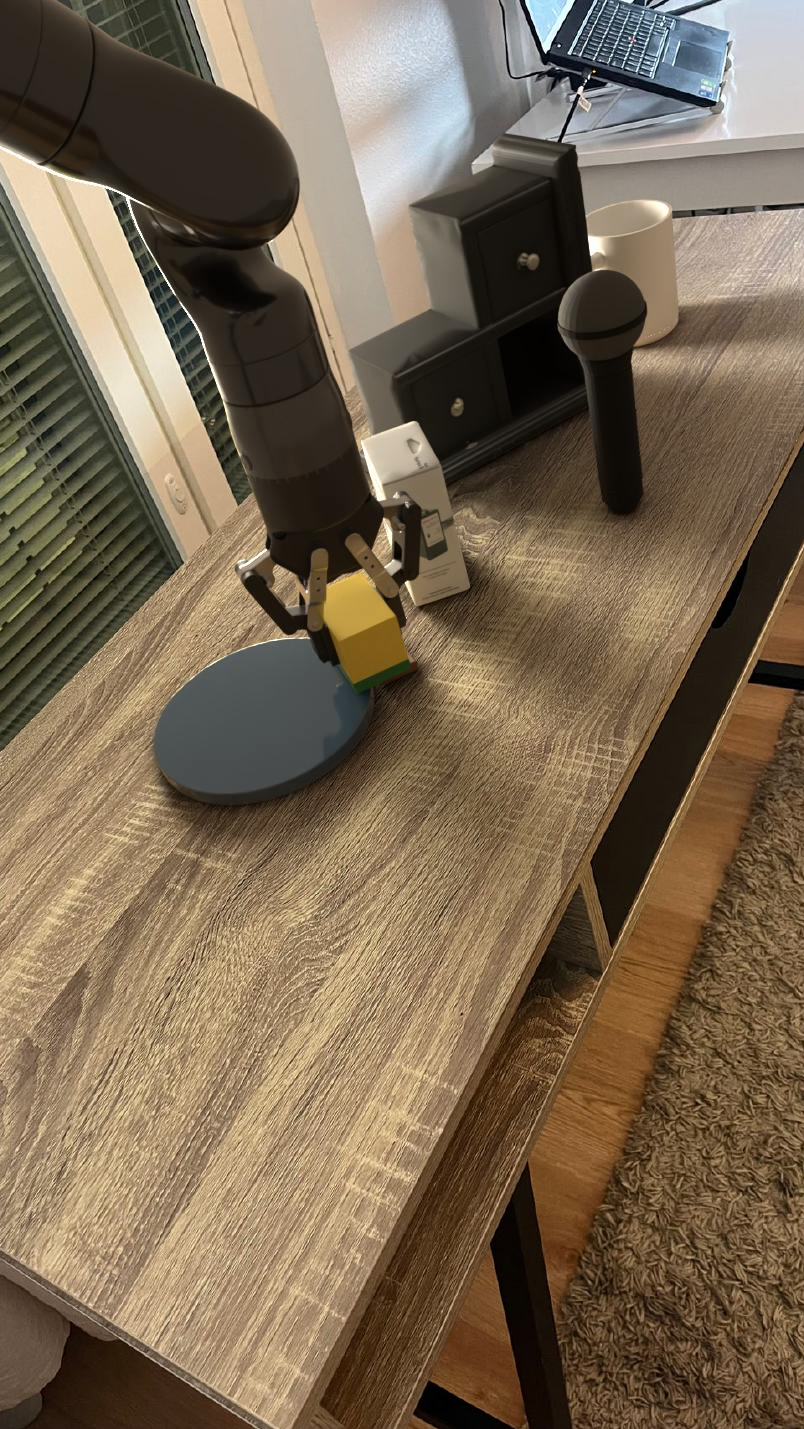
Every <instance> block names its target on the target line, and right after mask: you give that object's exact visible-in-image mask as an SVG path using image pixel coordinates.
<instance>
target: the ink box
mask: <svg viewBox="0 0 804 1429" xmlns="http://www.w3.org/2000/svg"><path fill="white" fill-rule="evenodd" d="M360 443H361V447H362V449H363V451H364V454H365V458H366V462H367V465H368V469H369V472H370V473H369V472H368V473H369V475H370V478H371V479H370V480H371V483H372V486H373V489H374V493H375V498H376V500H377V501H381V500H388V499H393V497H394V495H395V494H396V493H397V492H399V491H405V492H406V493H407V494H408V495H409V496H410V497H411V498H412V499H413V500H414V501H415V502H416V503H417V504H418V505H419V506H420V507H421V509H422V520H421V543H420V566H419V575H418V577H417V578H416V579H415V580H413V581H406V582H405V583H404V584H405V586H406V589H407V591H408V593H409V595H410V597H411V599H412V601H413V603H414V605H415V606H416V607H420V606H421V607H422V606H424V605H426V604H429V603H433V602H436V601H438V600H441V599H444V598H447V597H450V596H453V595H456V594H458V593H463V592H465V591H467V590H469V589H470V588H471V585H470V584H471V583H470V580H469V575H468V572H467V567H466V563H465V559H464V556H463V551H462V547H461V543H460V539H459V535H458V531H457V526H456V522H455V518H454V514H453V510H452V505H451V501H450V498H449V493H448V489H447V485H446V484H445V480H444V476H443V472H442V468H441V465H440V463H439V460H438V459H437V457H436V455H435V454H434V452H433V450H432V448H431V446H430V444H429V442H428V441H427V439H426V437H425V435H424V433H423V431H422V430H421V428H420V426H419V423H417V422H416V421H413V422H409V423H407V424H404V425H401V426H398V427H396V428H393V429H390V430H387V431H384V432H381V433H378V434H375V435H372V436H371V435H370V436H367V437H364V438H361V440H360ZM382 523H383V525H384V528H385V532H386V536H387V539H388V542H389V547H390V550H391V551H392V528H391V527H390V525H389V524H388V523H387V521H386V518H383V521H382Z"/></svg>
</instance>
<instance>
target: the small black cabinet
mask: <svg viewBox="0 0 804 1429" xmlns="http://www.w3.org/2000/svg"><path fill="white" fill-rule="evenodd" d="M491 150H492V152H491V156H492V159H493V164H492V165H490V166H488V167H486V168H484V169H482V170H479V171H477V172H475V173H473V174H472V175H469V176H467V177H464V178H463V179H460V180H458V181H456V182H454V183H452V184H449V185H447V186H446V187H444V188H441V189H439V190H436V191H435V192H433V193H430V194H428V195H426V196H424V197H421V198H420V199H418V200H416V201H415V200H414V201H413V202H411V203H409V204H408V205H407V211H408V216H409V219H410V220H409V221H410V225H411V226H410V227H411V229H412V230H411V231H412V235H413V239H414V243H415V248H416V251H417V252H416V253H417V255H418V260H419V265H420V269H421V272H422V278H423V282H424V286H425V290H426V295H427V296H426V297H427V300H428V304H429V308H428V309H427V310H425V311H422V312H421V313H419V314H418V315H415V316H413V317H411V318H409V319H407V320H405V321H403V322H401V323H399V324H397V325H395V326H394V327H391V328H389V329H387V330H385V331H384V332H381V333H379V334H377V335H375V336H373V337H371V338H370V339H367V340H365V341H364V342H361V343H360V344H357V345H355V346H354V347H352V348H350V349H348V350H347V351H346V353H347V358H348V362H349V365H350V367H351V372H352V375H353V378H354V383H355V386H356V389H357V392H358V396H359V399H360V401H361V405H362V406H361V407H362V409H363V412H364V416H365V419H366V422H367V423H366V424H367V425H368V429H369V432H370V436H372V435H375V434H378V433H381V432H384V431H387V430H390V429H393V428H396V427H398V426H401V425H404V424H407V423H409V422H413V421H416V422H417V423H419V426H420V428H421V430H422V431H423V433H424V435H425V437H426V439H427V441H428V442H429V444H430V446H431V448H432V450H433V452H434V454H435V455H436V457H437V459H438V460H439V463H440V465H441V468H442V472H443V476H444V480H445V484H446V486H448V485H449V484H451V483H452V482H454V481H456V480H458V479H461V478H462V477H463V476H466V475H468V474H469V473H472V472H473V471H475V470H476V469H478V468H480V467H482V466H484V465H486V464H487V463H489V462H491V461H493V460H494V459H497V458H498V457H499V456H502V455H504V454H505V453H508V452H509V451H511V450H513V449H515V448H516V447H518V446H520V445H522V444H523V443H525V442H527V441H529V440H530V439H533V438H534V437H536V436H538V435H539V434H541V433H544V432H545V431H547V430H549V429H551V428H552V427H555V426H556V425H557V424H559V423H561V422H563V421H565V420H567V419H569V418H570V417H572V416H574V415H576V414H578V413H579V412H581V411H584V410H585V409H587V408H589V405H588V397H587V390H586V382H585V374H584V369H583V366H582V364H581V362H580V360H579V357H578V355H577V354H575V353H574V352H573V351H571V350H570V348H569V347H568V346H567V345H566V343H565V342H564V340H563V338H562V336H561V334H560V332H559V330H558V324H557V319H558V314H559V308H560V305H561V302H562V299H563V297H564V295H565V293H566V292H567V290H568V289H569V287H570V286H571V285H572V284H573V283H574V282H575V281H576V280H577V279H579V278H580V277H582V276H583V275H585V274H587V273H589V272H592V271H593V270H592V262H591V254H590V247H589V239H588V230H587V222H586V215H587V214H586V208H585V201H584V192H583V183H582V176H581V171H580V169H579V165H578V162H579V156H578V151H577V145H576V144H573V143H569V142H568V143H566V142H560V141H555V140H549V139H544V138H536V137H531V136H527V135H520V134H513V133H507V132H504V133H501V134H499V135H498V136H497V139H496V140H494V142H493V144H492V147H491ZM359 453H360V456H361V460H362V463H363V466H364V470H365V472H367V473H369V474H370V472H369V469H368V465H367V462H366V458H365V454H364V451H363V448H361V449H360V450H359Z"/></svg>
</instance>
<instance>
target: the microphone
mask: <svg viewBox="0 0 804 1429" xmlns="http://www.w3.org/2000/svg"><path fill="white" fill-rule="evenodd" d="M647 313H648V312H647V304H646V301H645V300H644V297H643V295H642V293H641V290H640V289H639V288H638V286H637V285H636V284H635V282H634V281H633V280H631V279H630V278H629V277H628V276H626V275H624V274H622V273H620V272H617V271H613V270H596V271H592V272H589V273H587V274H585V275H583V276H582V277H580V278H579V279H577V280H576V281H575V282H574V283H573V284H572V285H571V286H570V287H569V289H568V290H567V292H566V293H565V295H564V297H563V299H562V302H561V305H560V308H559V314H558V319H557V324H558V330H559V332H560V334H561V336H562V338H563V340H564V342H565V343H566V345H567V346H568V347H569V348H570V350H571V351H573V352H574V353H575V354H577V355H578V357H579V360H580V362H581V364H582V366H583V369H584V374H585V382H586V390H587V397H588V405H589V407H588V411H589V412H588V413H589V420H590V427H591V435H592V442H593V449H594V457H595V464H596V472H597V481H598V485H599V490H600V498H601V502H602V503H603V504H604V505H605V507H607V509H608V510H609V511H610V512H611V513H612V514H613V515H616V516H627V515H630V514H632V513H634V512H635V511H636V510H637V509H638V507H639V505H640V503H641V501H642V499H643V497H644V496H645V491H644V480H643V479H644V474H643V463H642V454H641V445H640V444H641V443H640V434H639V423H638V414H637V404H636V393H635V383H634V373H633V364H632V363H633V362H632V360H633V352H634V348H635V347H634V345H635V343H636V342H637V340H638V339H639V337H640V336H641V333H642V331H643V328H644V324H645V320H646V317H647Z"/></svg>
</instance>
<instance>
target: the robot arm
mask: <svg viewBox="0 0 804 1429" xmlns="http://www.w3.org/2000/svg"><path fill="white" fill-rule="evenodd" d="M0 149H2V150H3V151H5V152H7V153H10V154H11V155H14V156H16V157H18V158H19V159H22V160H23V161H25V162H27V163H29V164H32V165H33V166H36V167H37V168H39V169H42V170H44V171H47V172H49V173H51V174H53V175H57V176H58V177H62V178H65V179H68V180H71V181H75V182H80V183H84V184H89V185H94V186H99V187H102V188H106V189H109V190H112V191H114V192H117V193H119V194H121V195H123V196H125V197H126V201H127V204H128V207H129V210H130V213H131V216H132V219H133V220H134V223H135V226H136V228H137V230H138V232H139V234H140V236H141V238H142V240H143V242H144V244H145V246H146V248H147V249H148V251H149V253H150V255H151V256H152V258H153V260H154V261H155V263H156V265H157V267H158V268H159V270H160V272H161V273H162V275H163V277H164V279H165V281H166V282H167V284H168V286H169V287H170V289H171V290H172V293H173V294H174V296H175V297H176V299H177V301H179V303H180V305H181V306H182V308H183V309H184V311H185V312H186V313H187V315H188V317H189V318H190V319H191V321H192V323H193V324H194V327H195V328H196V330H197V331H198V334H199V336H200V339H201V342H202V346H203V348H204V352H205V356H206V357H207V361H208V364H209V366H210V369H211V372H212V375H213V377H214V380H215V383H216V386H217V388H218V391H219V393H220V396H221V399H222V402H223V406H224V409H225V413H226V419H227V423H228V427H229V431H230V434H231V438H232V440H233V442H234V445H235V449H236V450H237V454H238V456H239V459H240V461H241V465H242V467H243V470H244V473H245V475H246V478H247V480H248V484H249V486H250V488H251V492H252V495H253V497H254V500H255V503H256V504H257V508H258V510H259V513H260V515H261V516H260V517H261V518H262V521H263V524H264V526H265V530H266V538H265V542H264V543H265V544H264V545H265V546H264V548H265V549H264V550H263V551H262V552H260V553H259V554H258V555H256V556H255V557H254V558H252V559H251V560H247V559H240V560H238V561H236V563H235V565H234V573H236V575H237V577H238V579H239V581H240V582H241V583H242V586H243V587H244V589H245V590H246V591H247V592H248V594H250V596H251V597H252V598H253V599H254V600H255V602H256V603H257V604H258V605H259V606H260V607H261V608H262V610H263V611H264V612H265V613H266V614H267V616H268V617H269V618H270V619H271V620H272V621H273V622H274V624H275V625H276V626H277V627H278V628H279V630H280V631H281V632H282V633H283V634H284V635H286V636H293V635H294V634H296V633H297V632H298V631H306V633H307V634H306V635H307V636H308V638H309V639H310V642H311V644H312V647H313V650H314V651H315V653H316V655H317V656H318V658H319V659H320V660H321V661H322V662H323V663H326V662H328V661H329V662H330V664H331V666H332V667H334V666H337V665H339V664H340V660H339V657H338V654H337V652H336V649H335V646H334V643H333V640H332V637H331V635H330V632H329V629H328V627H327V625H326V624H325V622H324V603H326V596H327V587H328V585H329V584H331V583H333V582H334V581H336V580H337V579H338V578H340V577H342V576H343V575H348V574H354V573H356V572H359V571H360V570H363V571H365V573H366V575H367V576H368V577H369V578H370V579H371V581H372V582H373V584H374V586H373V588H374V589H375V590H376V591H377V593H378V594H379V595H380V596H381V598H382V599H383V600H384V602H385V603H386V604H387V605H388V607H389V608H390V609H391V610H392V612H393V613H394V614H395V615H396V618H397V621H398V624H399V628H400V631H401V634H402V635H403V631H402V628H405V627H407V621H408V620H407V616H406V613H405V609H404V606H403V602H402V599H401V594H400V590H401V587H402V586H403V585H404V584H405V582H406V581H413V580H415V579H416V578H417V577H418V575H419V566H420V543H421V520H422V509H421V507H420V506H419V505H418V504H417V503H416V502H415V501H414V500H413V499H412V498H411V497H410V496H409V495H408V494H407V493H406V492H405V491H399V492H397V493H396V494H395V495H394V497H393V499H388V500H381V501H378V500H377V497H376V496H374V495H373V494H372V491H371V488H370V484H369V481H368V477H367V474H366V470H364V466H363V463H362V460H361V456H360V450H359V446H358V443H357V440H356V436H355V432H354V428H353V419H352V416H351V413H350V411H349V410H348V408H347V405H346V402H345V398H344V396H343V393H342V390H341V387H340V385H339V383H338V381H337V379H336V376H335V374H334V372H333V370H332V367H331V364H330V361H329V357H328V354H327V351H326V347H325V344H324V340H323V337H322V333H321V330H320V328H319V327H320V326H319V324H318V320H317V315H316V313H315V310H314V307H313V304H312V301H311V299H310V298H311V297H310V296H309V294H308V292H307V290H306V288H305V286H304V285H303V283H302V282H301V281H299V279H297V278H296V277H295V276H294V275H293V274H291V273H289V272H287V271H286V270H285V269H283V268H281V267H280V266H279V265H277V264H276V263H274V262H273V261H272V259H271V258H270V257H269V256H268V255H267V254H266V252H265V250H264V248H263V247H264V246H266V245H267V244H270V243H271V242H273V241H274V240H276V239H277V238H278V237H279V236H280V235H282V233H283V232H284V231H286V229H287V228H288V227H289V225H290V223H291V222H292V220H293V218H294V216H295V213H296V212H297V209H298V205H299V200H300V193H301V192H300V190H301V183H300V182H301V181H300V172H299V167H298V163H297V160H296V157H295V155H294V152H293V149H292V147H291V145H290V143H289V142H288V140H287V138H286V137H285V135H284V134H283V132H282V131H281V130H280V128H279V127H277V125H276V124H275V123H274V122H273V121H272V120H271V119H270V118H269V117H268V116H267V115H266V114H265V113H263V112H262V111H261V110H260V109H258V108H257V107H256V106H254V105H253V104H252V103H250V102H249V101H246V100H245V99H244V98H242V97H240V96H238V95H236V94H234V93H233V92H231V91H230V90H226V89H225V88H224V87H221V86H219V85H216V84H214V83H212V82H210V81H208V80H206V79H204V78H201V77H200V76H197V75H195V74H193V73H190V72H189V71H186V70H184V69H182V68H179V67H177V66H175V65H173V64H171V63H169V62H166V61H163V60H161V59H159V58H156V57H155V56H152V55H151V56H150V55H148V54H146V53H143V52H141V51H139V50H136V49H135V48H132V47H131V46H128V45H126V44H124V43H122V42H120V41H118V40H117V39H116V38H114V37H113V36H111V35H110V34H108V33H107V32H105V31H104V30H102V28H100V27H99V26H97V25H96V24H95V23H93V22H91V21H90V20H88V19H87V18H86V17H83V16H82V15H81V14H79V13H77V11H74V10H73V9H71V8H69V7H68V6H66V5H65V4H64V3H62V2H60V1H59V0H0ZM383 518H386V521H387V523H388V524H389V525H390V527H391V528H392V550H391V558H390V561H391V562H389V563H388V564H386V566H384V565H383V563H381V561H380V560H379V558H378V557H377V556H376V555H375V553H374V551H373V548H374V546H375V543H376V541H377V538H378V534H379V532H380V529H381V526H382V523H383ZM276 566H279V567H281V568H283V569H284V570H286V571H288V572H289V573H292V574H293V575H294V582H295V586H296V591H297V592H296V594H297V596H296V598H297V599H296V600H297V603H296V605H290V606H287V605H286V604H285V602H284V601H283V600H282V599H281V597H280V596H279V595H278V594H277V593H276V592H275V590H274V589H273V587H274V584H275V582H276V577H275V575H274V568H275V567H276Z"/></svg>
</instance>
